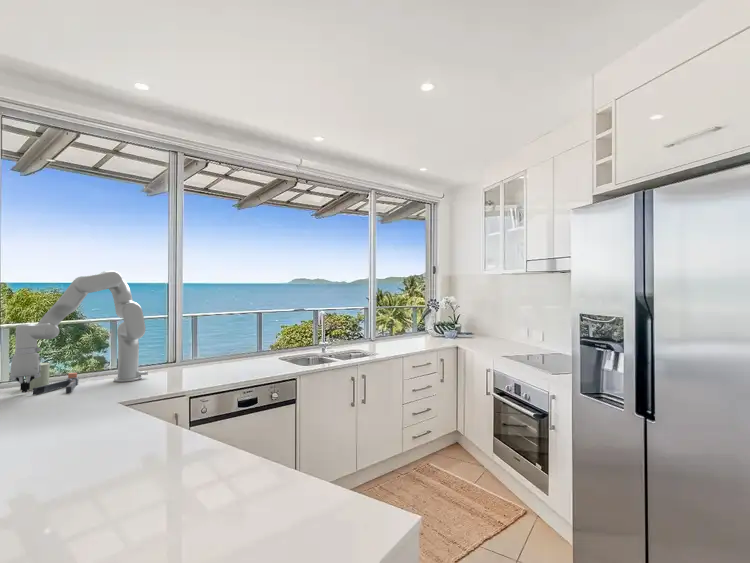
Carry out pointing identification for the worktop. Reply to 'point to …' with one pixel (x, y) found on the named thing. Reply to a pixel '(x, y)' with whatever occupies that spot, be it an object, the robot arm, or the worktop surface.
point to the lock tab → (72, 375)
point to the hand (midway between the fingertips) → (25, 391)
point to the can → (41, 377)
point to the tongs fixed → (71, 384)
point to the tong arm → (50, 387)
